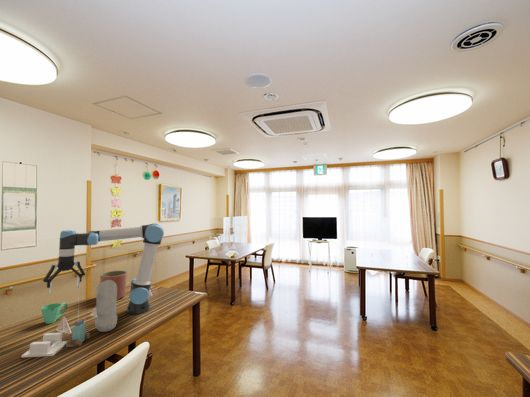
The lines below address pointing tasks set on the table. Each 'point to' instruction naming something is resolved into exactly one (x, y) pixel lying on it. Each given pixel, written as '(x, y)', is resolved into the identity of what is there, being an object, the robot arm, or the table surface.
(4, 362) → the table surface
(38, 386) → the table surface
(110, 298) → the sculpture
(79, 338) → the plug
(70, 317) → the table surface
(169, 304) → the table surface
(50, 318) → the mug
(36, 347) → the port
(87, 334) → the holster
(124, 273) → the planter
